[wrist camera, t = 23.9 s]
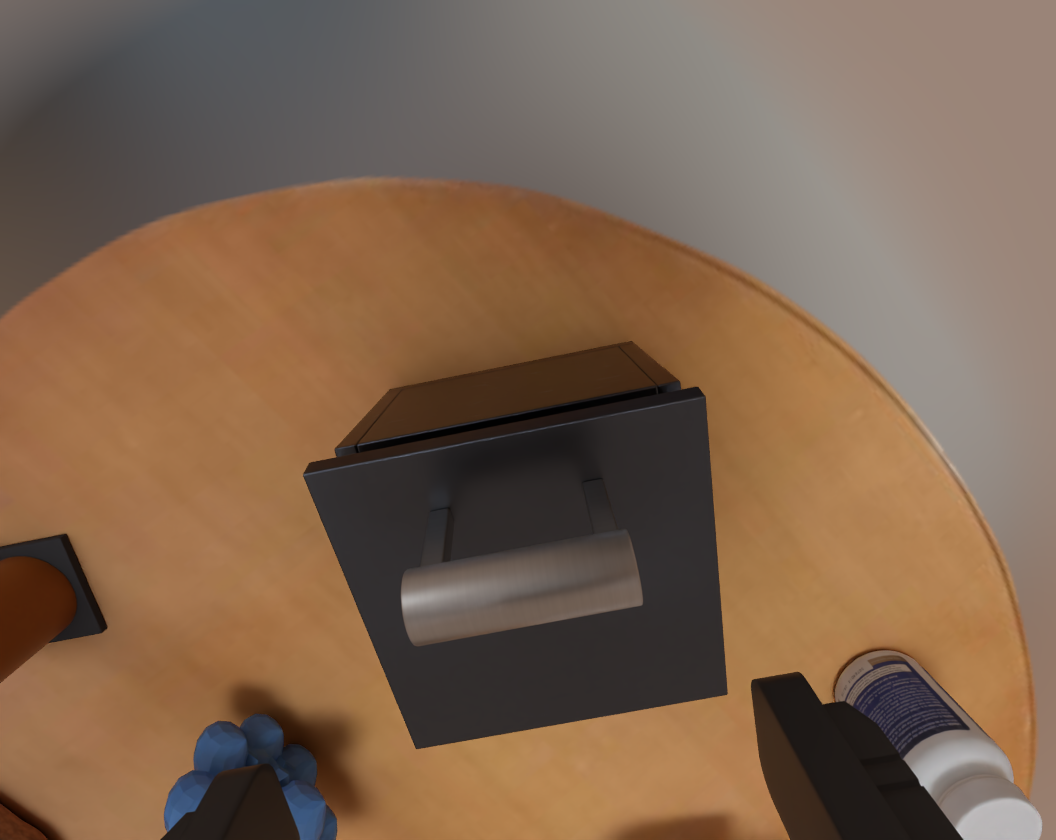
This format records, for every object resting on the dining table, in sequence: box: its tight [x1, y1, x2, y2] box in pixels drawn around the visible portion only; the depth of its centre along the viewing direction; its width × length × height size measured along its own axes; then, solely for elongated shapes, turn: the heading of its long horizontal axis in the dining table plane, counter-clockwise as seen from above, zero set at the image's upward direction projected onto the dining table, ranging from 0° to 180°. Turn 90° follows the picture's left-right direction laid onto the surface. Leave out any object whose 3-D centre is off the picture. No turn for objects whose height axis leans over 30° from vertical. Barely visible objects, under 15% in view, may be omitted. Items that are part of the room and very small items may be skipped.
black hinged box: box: [335, 341, 681, 457], centre depth 28 cm, size 13×13×10 cm
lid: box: [303, 387, 728, 749], centre depth 20 cm, size 13×13×6 cm
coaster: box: [0, 534, 107, 643], centre depth 34 cm, size 6×6×1 cm
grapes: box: [164, 714, 337, 840], centre depth 32 cm, size 12×7×12 cm, turn 33°
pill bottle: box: [835, 650, 1042, 840], centre depth 32 cm, size 5×5×10 cm
